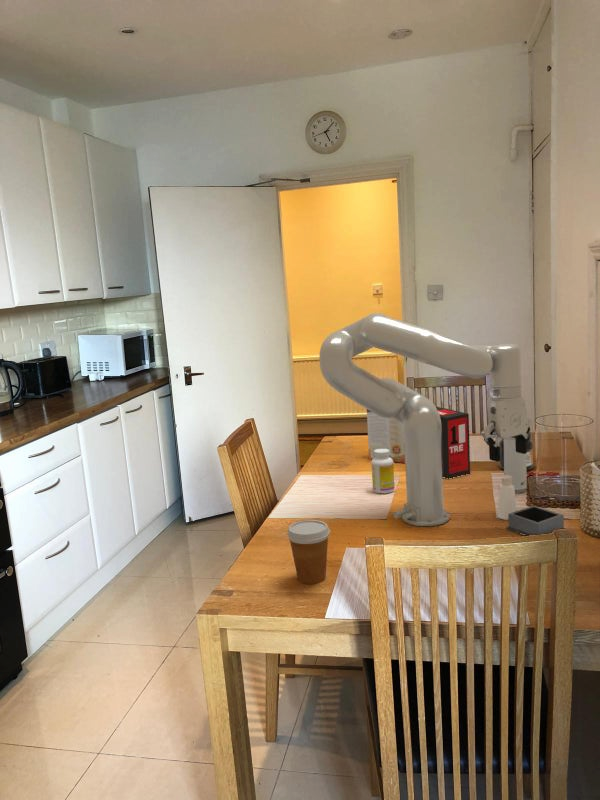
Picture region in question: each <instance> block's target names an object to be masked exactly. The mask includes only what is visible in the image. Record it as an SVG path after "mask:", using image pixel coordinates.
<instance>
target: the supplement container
mask: <svg viewBox="0 0 600 800" xmlns="http://www.w3.org/2000/svg"><path fill="white" fill-rule="evenodd" d="M526 445H527V453H526V472H527V471H530V470H532V468H534V449H533V446H534V442H533V440H532V432H531V430H530V431H529V433H528V438H527V439H526ZM498 446H500V461H499V467H500V468H501V469H502V470H504V439H503V438H502V439H501V441H500V443H499V445H498Z"/></svg>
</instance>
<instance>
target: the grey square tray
mask: <svg viewBox="0 0 600 800" xmlns="http://www.w3.org/2000/svg"><path fill="white" fill-rule="evenodd" d="M507 521H508V525H507V526H506V528H505V530H507V531H509V532H512V531H514V532H513V533H515V532H518V533H522V534H525V535H524V537H526V536H529V535H541V534H549V533H552V532H553V531H554V530H558V529H566V530H567V528H565V523H564V521H565V519H564V514H563V513H558V512H556V511H552V510H550V509H547V508H542V507H539V506H536V505H531V506H528V507H525V508H523V509H519V510H517V511H516V512H513V513H510V514H508V520H507ZM518 533H517V534H518Z"/></svg>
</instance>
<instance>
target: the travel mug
mask: <svg viewBox="0 0 600 800" xmlns="http://www.w3.org/2000/svg"><path fill="white" fill-rule="evenodd" d="M516 437H517V436H514V437H510V438H507V439H504V469H503V476H505V475H508V476H511V477H512V485H513V486H514V489H515V494H522V493H525V492H526V491H527V490H528V488H527V486H528V485H527V481H528V480H527V471H526V454H522V453H518V452H516V445H515V438H516ZM526 489H527V490H526Z"/></svg>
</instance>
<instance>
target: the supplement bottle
mask: <svg viewBox="0 0 600 800" xmlns="http://www.w3.org/2000/svg"><path fill="white" fill-rule="evenodd" d="M389 454H390V452H389V450H388V449H376V450H374V455H375V458H374V459H373V460H371V462H370V463H371V476H372V478H371V479H372V480H371V481H372V490H373V492H374V493H377V494H380V493H382V494H383V493H384V495H385V493H386V494H390V493H393V492H394V491H395V488H396V487H395V475H394V474H395V470H394V462H393V460H392V458H390V457H389Z"/></svg>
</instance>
